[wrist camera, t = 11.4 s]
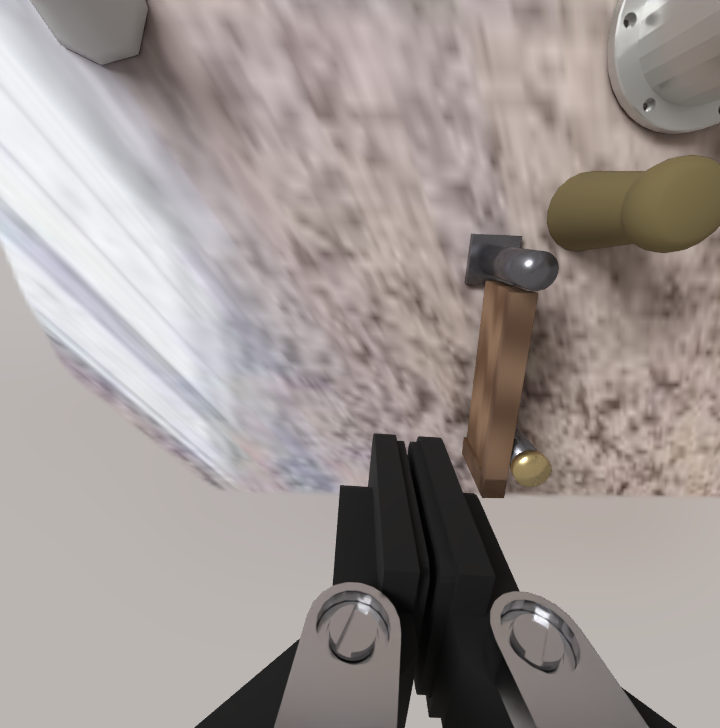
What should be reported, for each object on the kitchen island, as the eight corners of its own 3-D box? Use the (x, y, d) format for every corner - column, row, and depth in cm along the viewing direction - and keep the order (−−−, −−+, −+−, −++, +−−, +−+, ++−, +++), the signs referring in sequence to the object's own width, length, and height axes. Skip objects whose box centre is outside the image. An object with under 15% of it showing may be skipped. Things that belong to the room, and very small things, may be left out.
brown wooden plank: (482, 280, 32) (511, 293, 25) (503, 280, 32) (538, 293, 25) (462, 453, 37) (482, 497, 31) (480, 453, 37) (504, 498, 31)
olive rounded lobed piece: (637, 187, 30) (783, 166, 20) (597, 261, 32) (710, 277, 22) (570, 159, 29) (685, 121, 19) (533, 236, 31) (619, 240, 21)
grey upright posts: (550, 237, 31) (620, 240, 23) (510, 435, 38) (554, 495, 29) (471, 234, 31) (512, 235, 23) (444, 433, 38) (469, 493, 29)
